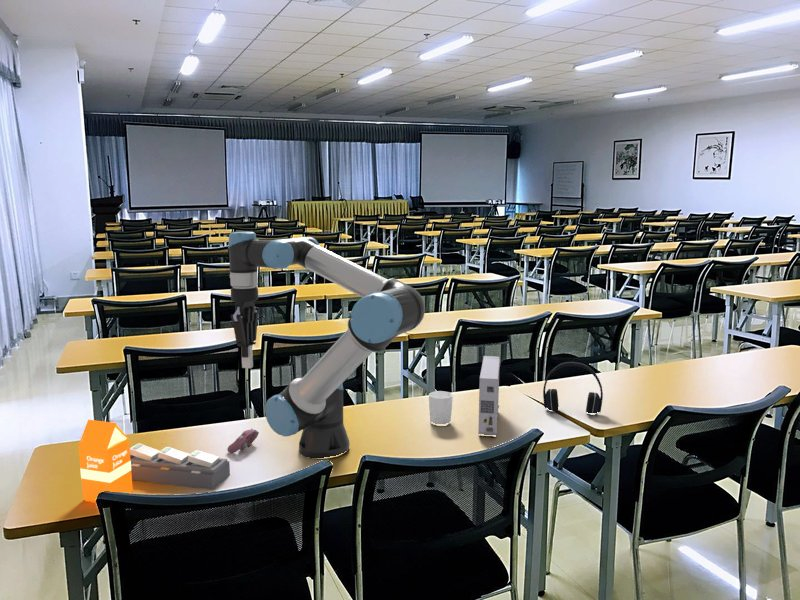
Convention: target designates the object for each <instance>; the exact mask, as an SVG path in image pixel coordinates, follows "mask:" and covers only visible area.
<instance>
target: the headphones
mask: <svg viewBox="0 0 800 600" xmlns="http://www.w3.org/2000/svg"><path fill="white" fill-rule="evenodd" d="M568 366H575V367H579V368H583V369H584V370H587V371H588V372H589V373H591V375H593V377H594V378H595V379H596V382H597V384H598V387H599V390H600V395H599V393H598V392H594V391H590V392H588V395H587V401H586V406H585V413H586V412H588V413H597V412H598V413H599V412H600V413H601V411H602V406H603V397H604V393H603V386H602V383H601V381H600V378H599V376H598V375H597V373H596V372H595V370H594V369H592V368H591V367H590V366H588V365H586V364H585V363H582V362H576V361H565V362H564V361H563V362H562V363H559V364H558V365H557V366H555V367H553V369H552V370H551V371H550V372H549V373H548V374H547V376H546V378H545V380H544V384H543V389H542V390H543V391H542V395H543V396H542V397H543V407H545V408H544V409H547V408H548V409H549V410H553V411H556V412H558V411H559V410H558V407H559V396H558V389H557V388H552V389H551V388H548V389H547V390H546V387H547V383H548V380H549V379H550V377H552V376H551V375H552V374H554V372H556V371H557V370H559V369H561V368H564V367H568ZM548 409H547V410H548ZM549 410H548V411H549ZM598 413H597V414H598Z"/></svg>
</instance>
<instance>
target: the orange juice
mask: <svg viewBox="0 0 800 600" xmlns="http://www.w3.org/2000/svg"><path fill="white" fill-rule="evenodd" d="M77 447H78V455H79V466H80V479H81V488H82V501H83V500H85V501H84V502H89V501H90V502H89V503H95V499H96V497H97V495H98V494H99V493H100V492H104V491H110V492H130V494H132V493H133V491H134V490H133V480H132V475H131V461H130V448H131V447H130V438H128V436H127V435H126V433H124V432H123V431H122V429H121V428H120V427H119V425H118V424H117V423H116V422H112V421H111V422H110V421H104V420H95V419H87V422H86V424H85V427H84V430H83V432H82V435H81V438H80V441H79V443H78V446H77ZM131 492H132V493H131Z"/></svg>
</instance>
